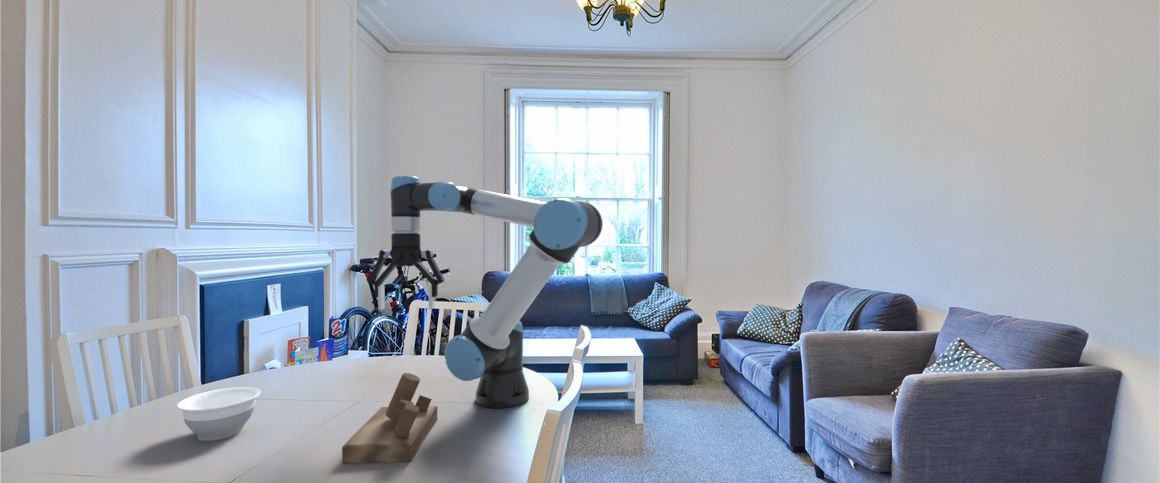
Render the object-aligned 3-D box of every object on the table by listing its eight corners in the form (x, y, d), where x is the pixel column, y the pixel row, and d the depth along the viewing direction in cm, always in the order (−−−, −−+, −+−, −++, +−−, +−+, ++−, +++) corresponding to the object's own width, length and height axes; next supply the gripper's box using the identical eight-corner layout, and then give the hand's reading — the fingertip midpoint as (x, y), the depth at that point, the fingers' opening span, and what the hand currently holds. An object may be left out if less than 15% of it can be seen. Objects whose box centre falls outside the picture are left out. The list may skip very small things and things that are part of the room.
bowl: (276, 424, 117) (276, 390, 117) (207, 452, 102) (207, 413, 102) (232, 416, 122) (231, 383, 122) (160, 442, 107) (159, 405, 107)
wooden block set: (411, 448, 100) (430, 405, 101) (372, 435, 99) (391, 391, 99) (425, 413, 118) (441, 376, 118) (392, 401, 117) (408, 364, 117)
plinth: (437, 419, 120) (437, 405, 119) (410, 461, 98) (410, 444, 98) (381, 420, 119) (381, 406, 119) (342, 463, 97) (342, 446, 97)
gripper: (454, 232, 133) (454, 306, 134) (365, 232, 132) (366, 307, 132) (448, 232, 126) (449, 310, 126) (353, 232, 125) (354, 311, 125)
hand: (406, 309), depth 129 cm, fingers open, 13 cm apart
